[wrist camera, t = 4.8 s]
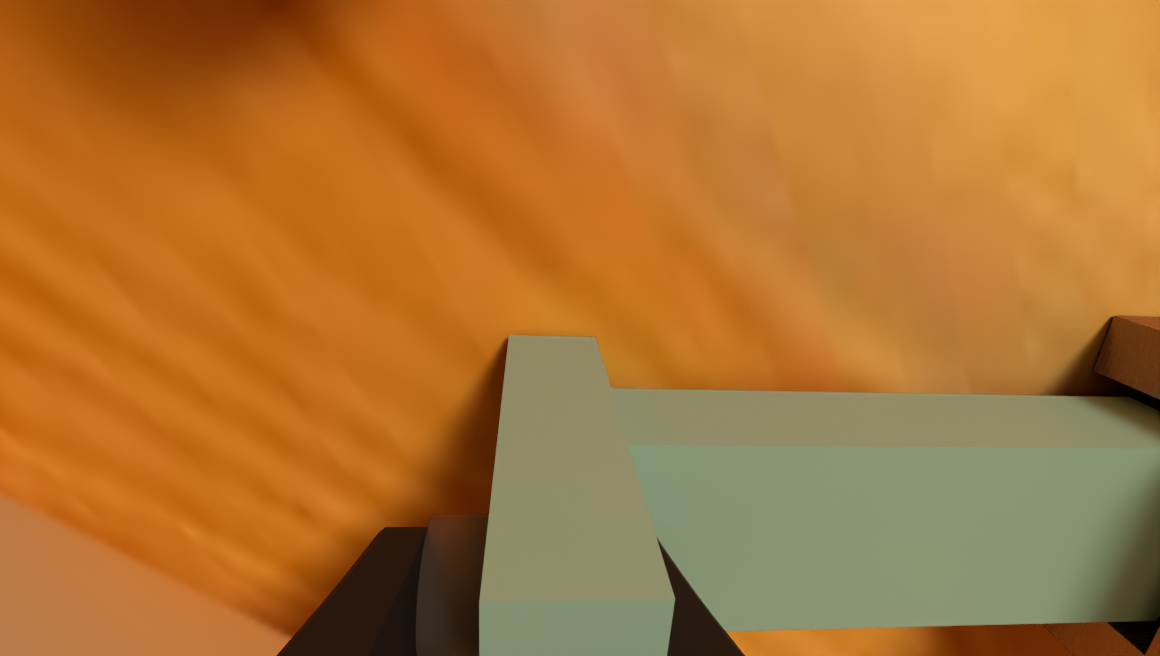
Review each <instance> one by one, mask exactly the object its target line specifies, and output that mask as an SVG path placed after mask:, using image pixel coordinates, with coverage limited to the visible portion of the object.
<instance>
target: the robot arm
mask: <svg viewBox="0 0 1160 656" xmlns="http://www.w3.org/2000/svg"><path fill="white" fill-rule="evenodd" d="M427 528H428V527H385V528H384V529H383V530H381V531H380V532H379V533H378V534H377V535H376V537H375V538H374V539H373V540H372V542H371V543H370V544H369V546H368V547H367V548H366V550H365V551H364V552H363V553H362V555H361V556H360V557H359V558H358V560H357V561H356V562H355V564H354V565H353V566H352V567H351V569H350V570H349V571H348V572H347V574H346V575H345V576H344V577H343V579H342V580H341V581H340V582H339V583H338V585H337V586H336V587H335V588H334V589H333V591H332V592H331V593H330V594H329V596H328V597H327V598H326V599H325V600H324V602H323V603H322V604H321V605H320V606H319V607H318V609H317V610H316V611H315V612H314V613H313V614H312V616H311V617H310V618H309V619H308V620H307V621H306V622H305V624H304V625H303V626H302V627H301V628H300V629H299V631H298V632H297V633H296V634H295V635H294V636H293V637H292V639H291V640H290V641H289V642H288V643H287V644H286V645H285V647H284V648H283V649H282V650H281V651H280V652H279V653H278V655H277V656H417V653H416V611H417V595H418V584H419V574H420V566H421V559H422V552H423V547H424V541H425V536H426V532H427ZM657 541H658V544H659V547H660V551H661V554H662V557H663V560H664V564H665V567H666V570H667V574H668V577H669V580H670V583H671V587H672V590H673V593H674V597H675V604H674V611H673V618H672V625H671V632H670V639H669V646H668V653H667V656H745V655H744V654H743V653H742V651H741V650H740V649H739V648H738V646H737V645H736V644H735V643H734V641H733V640H732V639H731V638H730V636H729V635H728V634H727V633H726V631H725V630H724V629H723V627H722V626H721V625H720V624H719V622H718V621H717V620H716V619H715V617H714V616H713V615H712V614H711V612H710V611H709V610H708V608H707V607H706V606H705V604H704V603H703V602H702V600H701V599H700V598H699V596H698V595H697V594H696V592H695V591H694V590H693V588H692V587H691V585H690V584H689V583H688V581H687V580H686V579H685V577H684V576H683V574H682V573H681V572H680V570H679V569H678V567H677V566H676V565H675V563H674V562H673V560H672V559H671V557H670V556H669V554H668V553H667V552H666V550H665V549H664V547H663V546H662V544H661V543H660V541H659V540H658V538H657Z"/></svg>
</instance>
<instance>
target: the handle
mask: <svg viewBox="0 0 1160 656" xmlns="http://www.w3.org/2000/svg"><path fill="white" fill-rule="evenodd" d="M657 538H658V540H659V541H660V543H661V544H662V546H663V547H664V549H665V550H666V552H667V553H668V554H669V556H670V557H671V559H672V560H673V562H674V563H675V565H676V566H677V567H678V569H679V570H680V572H681V573H682V574H683V576H684V577H685V579H686V580H687V581H688V583H689V584H690V585H691V587H692V588H693V590H694V591H695V592H696V594H697V595H698V596H699V598H700V599H701V600H702V602H703V603H704V604H705V606H706V607H707V608H708V610H709V611H710V612H711V614H712V615H713V616H714V617H715V619H716V620H717V621H718V622H719V624H720V625H721V626H722V627H723V629H724V630H725V631H763V630H803V629H844V628H884V627H925V626H965V625H1006V624H1046V623H1087V622H1127V621H1157V620H1158V618H1159V616H1160V411H1158V410H1156V409H1154V408H1152V407H1150V406H1147V405H1145V404H1143V403H1141V402H1139V401H1136V400H1134V399H1132V398H1130V397H1098V396H1038V395H979V394H919V393H859V392H800V391H740V390H680V389H620V388H611V386H610V383H609V379H608V376H607V373H606V370H605V366H604V363H603V360H602V356H601V353H600V350H599V347H598V343H597V340H596V337H572V336H533V335H509V338H508V347H507V356H506V365H505V374H504V383H503V392H502V401H501V410H500V419H499V428H498V437H497V446H496V455H495V464H494V473H493V482H492V491H491V500H490V509H489V514H433V515H432V516H431V518H430V521H429V524H428V528H427V532H426V536H425V541H424V547H423V552H422V559H421V566H420V574H419V584H418V595H417V611H416V653H417V656H667V653H668V646H669V639H670V632H671V625H672V618H673V611H674V604H675V597H674V593H673V590H672V587H671V583H670V580H669V577H668V574H667V570H666V567H665V564H664V560H663V557H662V554H661V551H660V547H659V544H658V541H657Z"/></svg>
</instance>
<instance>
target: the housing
mask: <svg viewBox="0 0 1160 656" xmlns="http://www.w3.org/2000/svg"><path fill="white" fill-rule="evenodd" d="M1093 371H1095V372H1097V373H1100V374H1102V375H1104V376H1107V377H1109V378H1111V379H1114V380H1116V381H1118V382H1120V383H1123V384H1125V385H1127V386H1130V387H1132V388H1134V389H1137V390H1139V391H1141V392H1144V393H1146V394H1148V395H1150V396H1153V397H1155V398H1157V399H1160V317H1137V316H1114V318H1113V320H1112V323H1111V326H1110V328H1109V331H1108V333H1107V336H1106V339H1105V341H1104V344H1103V346H1102V349H1101V351H1100V354H1099V357H1098V359H1097V362H1096V364H1095V367H1094V369H1093ZM1042 625H1043V626H1044V627H1045V628H1046V629H1047V630H1048V631H1049V632H1050V633H1051V634H1052V635H1053V636H1054V637H1055V638H1056V639H1058V640H1059V641H1060V642H1061V643H1062V644H1063V645H1064V646H1065V647H1066V648H1067V649H1068V650H1069V651H1070V652H1071V653H1072V654H1073V655H1074V656H1160V616H1159V618H1158V620H1157V621H1127V622H1087V623H1046V624H1042Z"/></svg>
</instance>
